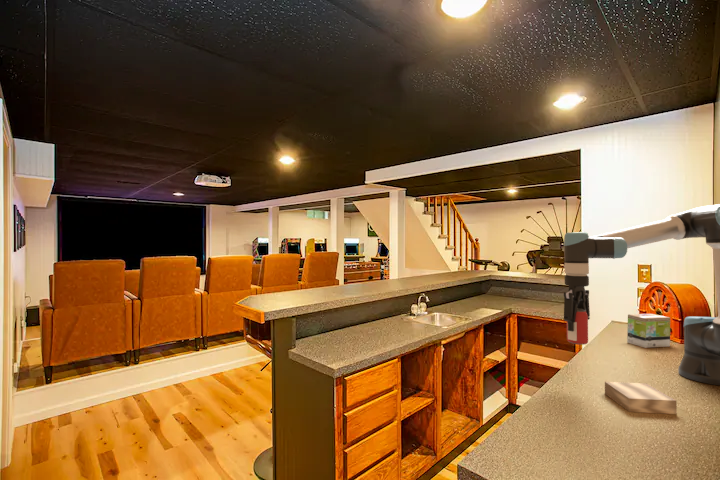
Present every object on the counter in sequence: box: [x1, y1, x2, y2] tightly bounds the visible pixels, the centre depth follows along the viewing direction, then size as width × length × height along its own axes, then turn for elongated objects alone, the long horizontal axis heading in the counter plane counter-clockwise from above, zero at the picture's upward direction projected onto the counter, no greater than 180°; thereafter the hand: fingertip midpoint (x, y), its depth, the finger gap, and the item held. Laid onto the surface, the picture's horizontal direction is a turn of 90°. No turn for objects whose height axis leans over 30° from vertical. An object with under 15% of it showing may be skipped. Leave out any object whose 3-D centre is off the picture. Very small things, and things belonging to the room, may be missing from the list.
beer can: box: [566, 308, 589, 346], centre depth 127 cm, size 7×7×12 cm
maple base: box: [604, 381, 678, 415], centre depth 112 cm, size 13×13×4 cm
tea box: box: [626, 313, 671, 349], centre depth 176 cm, size 15×10×15 cm, turn 102°
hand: (577, 338), depth 127 cm, fingers closed on beer can, 6 cm apart
